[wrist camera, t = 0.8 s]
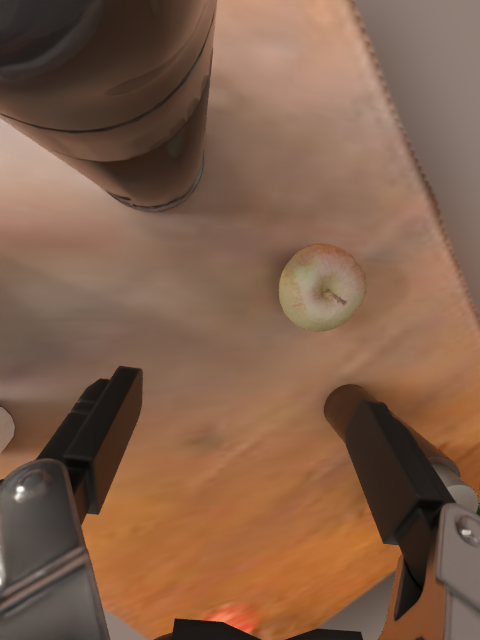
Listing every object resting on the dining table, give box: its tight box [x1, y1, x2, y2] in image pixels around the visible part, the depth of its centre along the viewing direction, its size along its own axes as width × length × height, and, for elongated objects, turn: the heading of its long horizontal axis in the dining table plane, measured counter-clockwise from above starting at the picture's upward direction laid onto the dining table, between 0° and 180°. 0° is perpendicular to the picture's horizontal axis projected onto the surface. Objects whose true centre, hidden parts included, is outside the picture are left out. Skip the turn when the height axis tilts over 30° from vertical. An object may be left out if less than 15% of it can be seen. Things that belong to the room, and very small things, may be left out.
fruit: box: [279, 244, 366, 331], centre depth 25 cm, size 8×7×8 cm
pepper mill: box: [324, 385, 479, 513], centre depth 26 cm, size 6×6×14 cm
